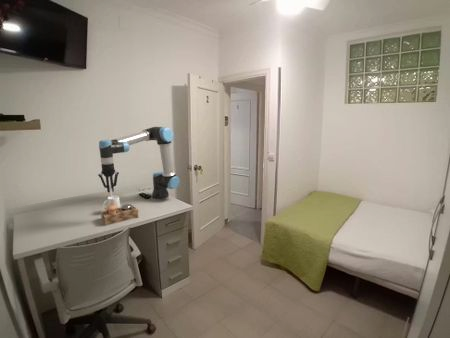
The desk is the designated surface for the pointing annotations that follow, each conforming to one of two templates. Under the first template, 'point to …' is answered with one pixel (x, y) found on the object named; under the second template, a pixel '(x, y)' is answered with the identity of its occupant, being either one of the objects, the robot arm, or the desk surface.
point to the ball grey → (126, 207)
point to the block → (119, 215)
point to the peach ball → (111, 209)
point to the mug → (113, 201)
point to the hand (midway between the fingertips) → (111, 196)
